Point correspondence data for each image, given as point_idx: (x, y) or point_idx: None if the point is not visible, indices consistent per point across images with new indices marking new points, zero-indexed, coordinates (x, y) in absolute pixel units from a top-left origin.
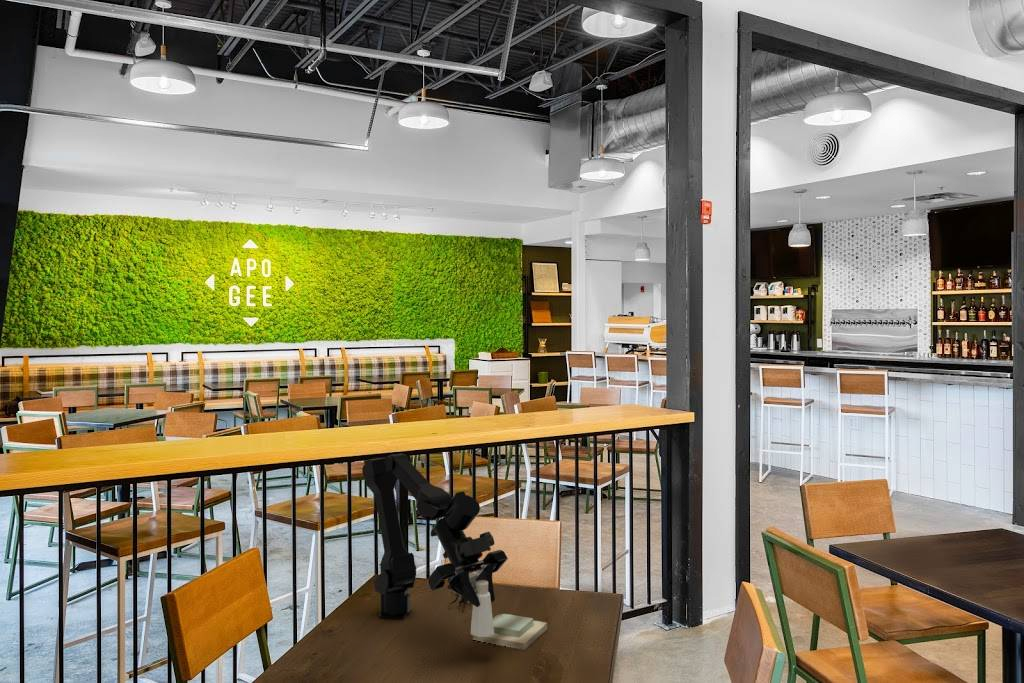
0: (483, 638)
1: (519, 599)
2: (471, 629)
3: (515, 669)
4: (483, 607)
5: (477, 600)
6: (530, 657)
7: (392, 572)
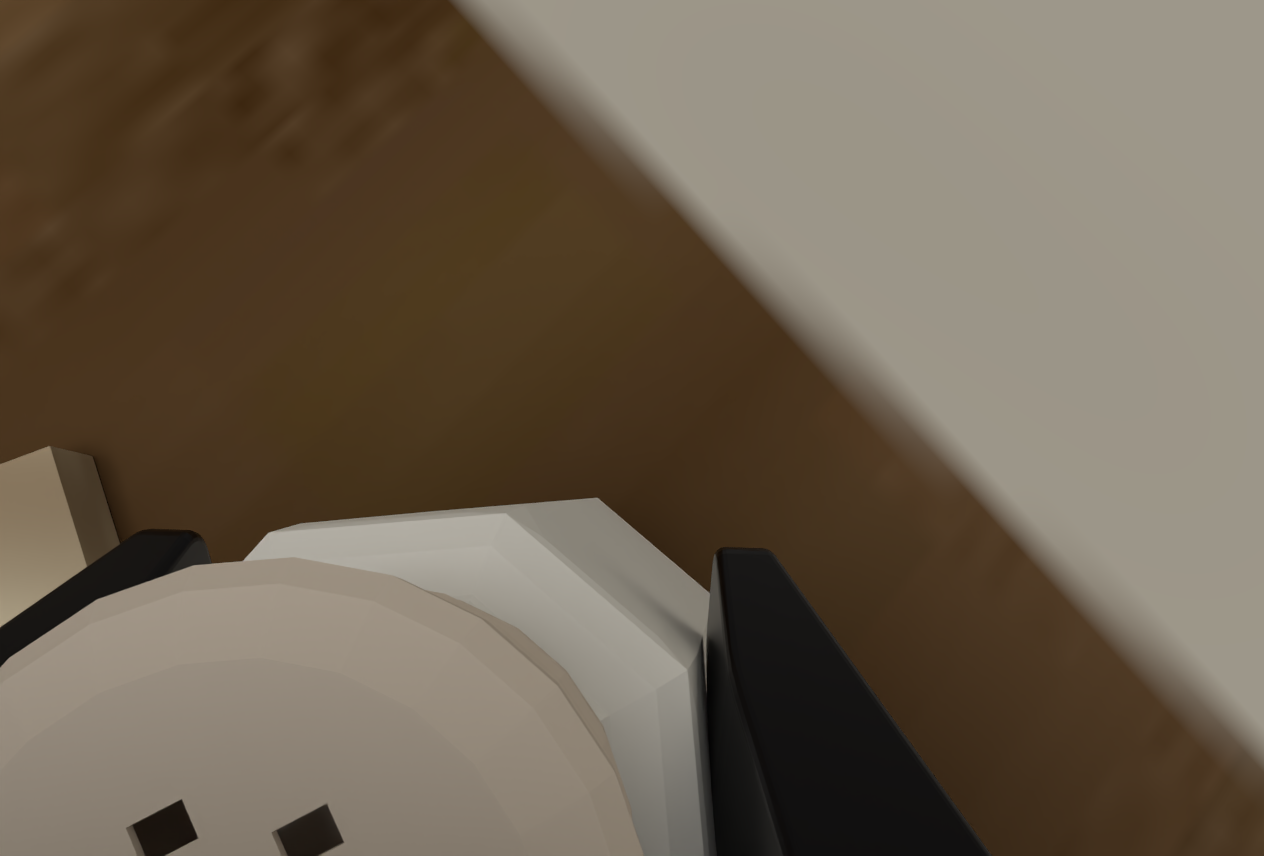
0: None
1: None
2: None
3: (512, 193)
4: (600, 547)
5: (784, 618)
6: (190, 284)
7: None
